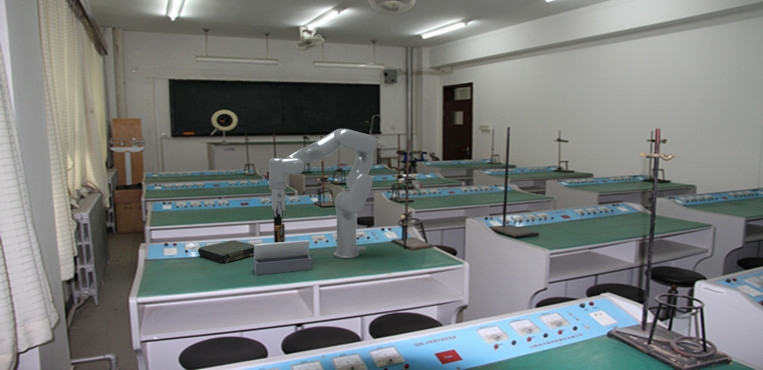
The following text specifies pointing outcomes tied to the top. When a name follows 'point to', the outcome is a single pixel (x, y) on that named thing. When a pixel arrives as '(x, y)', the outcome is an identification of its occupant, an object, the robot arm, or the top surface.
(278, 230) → the multimeter
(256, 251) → the panel
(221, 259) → the network switch
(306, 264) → the block
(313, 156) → the robot arm
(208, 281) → the top surface
